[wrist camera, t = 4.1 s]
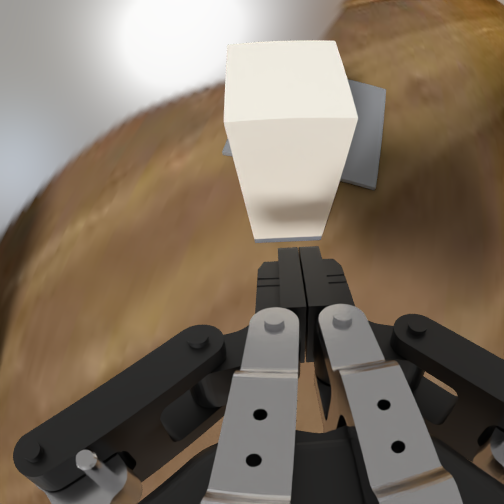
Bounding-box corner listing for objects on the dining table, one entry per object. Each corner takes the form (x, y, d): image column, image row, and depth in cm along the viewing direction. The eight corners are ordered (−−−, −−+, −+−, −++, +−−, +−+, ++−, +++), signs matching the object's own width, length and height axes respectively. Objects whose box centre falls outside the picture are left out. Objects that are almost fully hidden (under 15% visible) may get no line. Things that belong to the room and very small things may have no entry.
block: (254, 185, 24) (227, 44, 11) (314, 182, 24) (334, 41, 11) (255, 242, 23) (223, 122, 10) (320, 239, 22) (358, 117, 10)
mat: (261, 66, 28) (260, 63, 27) (385, 92, 26) (385, 89, 25) (223, 154, 25) (222, 151, 24) (374, 190, 23) (375, 187, 22)
